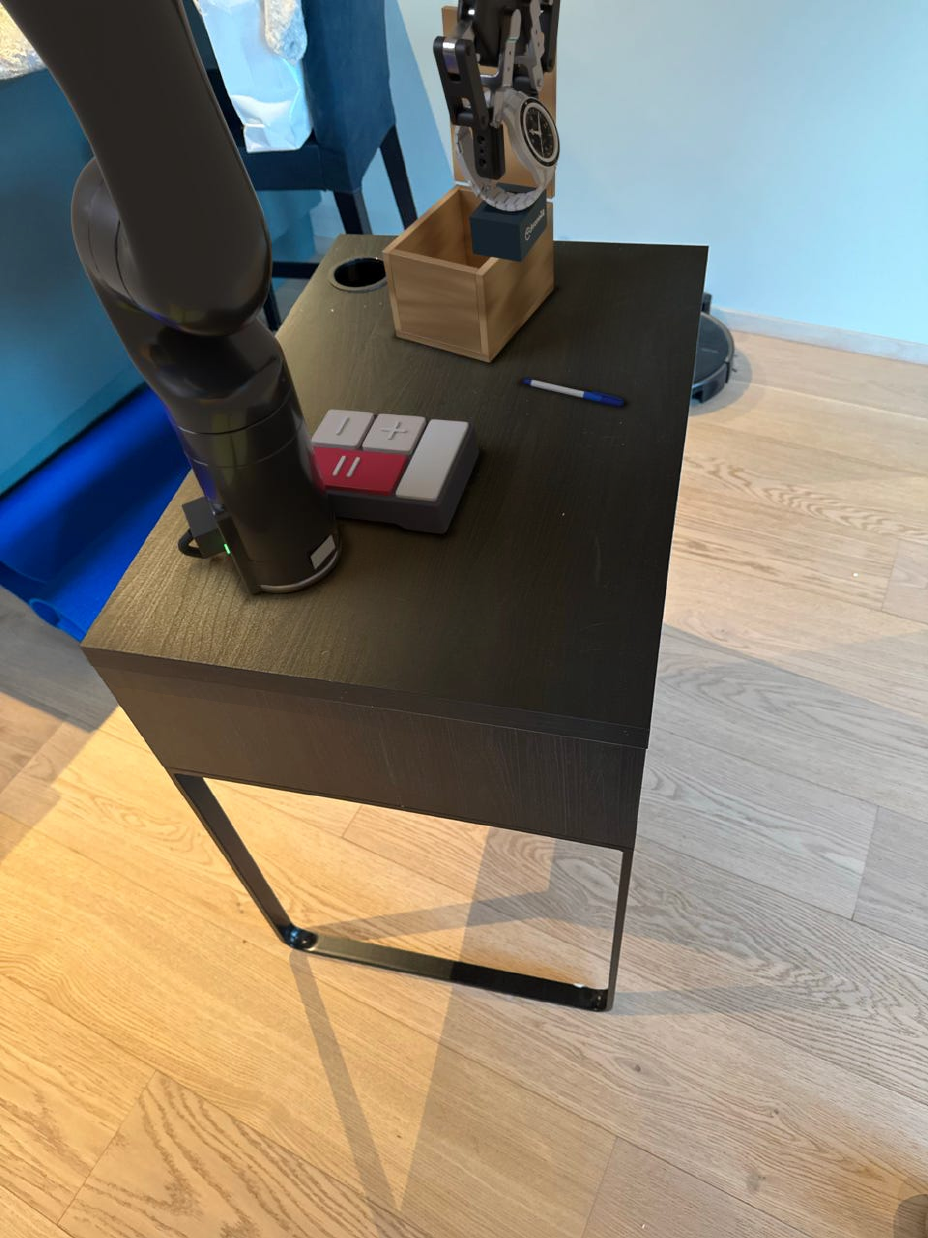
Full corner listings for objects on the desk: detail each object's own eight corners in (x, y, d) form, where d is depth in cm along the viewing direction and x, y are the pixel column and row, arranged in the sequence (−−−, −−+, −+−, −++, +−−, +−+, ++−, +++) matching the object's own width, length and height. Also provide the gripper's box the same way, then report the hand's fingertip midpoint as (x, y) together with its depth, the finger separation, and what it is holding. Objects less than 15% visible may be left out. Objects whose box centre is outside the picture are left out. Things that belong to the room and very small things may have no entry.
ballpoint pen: (624, 403, 82) (625, 395, 81) (621, 409, 82) (622, 400, 81) (525, 382, 86) (525, 374, 85) (522, 387, 85) (522, 379, 84)
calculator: (325, 403, 80) (474, 415, 76) (337, 438, 84) (480, 451, 79) (278, 481, 74) (437, 499, 70) (292, 516, 77) (445, 535, 73)
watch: (543, 265, 67) (540, 118, 58) (453, 250, 69) (436, 107, 60) (569, 228, 69) (569, 82, 61) (481, 215, 72) (469, 73, 63)
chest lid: (553, 19, 74) (578, 1, 77) (440, 7, 79) (467, -9, 81) (551, 199, 87) (572, 179, 89) (454, 180, 91) (477, 162, 94)
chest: (489, 362, 88) (482, 274, 80) (396, 336, 92) (381, 250, 84) (553, 289, 95) (553, 201, 87) (464, 268, 99) (456, 183, 91)
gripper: (498, -162, 56) (511, 114, 69) (376, -97, 49) (417, 195, 63) (601, -161, 53) (593, 127, 67) (487, -91, 46) (504, 214, 60)
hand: (508, 159), depth 64 cm, fingers closed on watch, 4 cm apart
